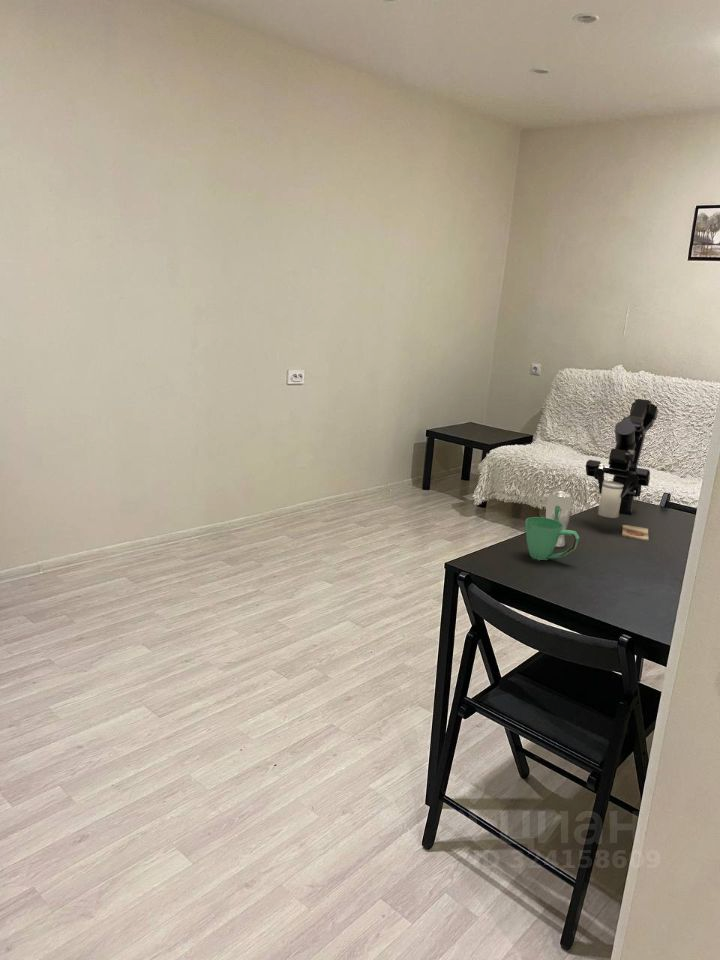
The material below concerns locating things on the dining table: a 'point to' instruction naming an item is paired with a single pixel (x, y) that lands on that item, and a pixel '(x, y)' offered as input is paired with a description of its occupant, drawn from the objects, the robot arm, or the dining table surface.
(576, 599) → the dining table surface
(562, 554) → the mug
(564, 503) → the beer glass
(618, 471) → the robot arm
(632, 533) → the mat
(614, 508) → the white lidded jar
